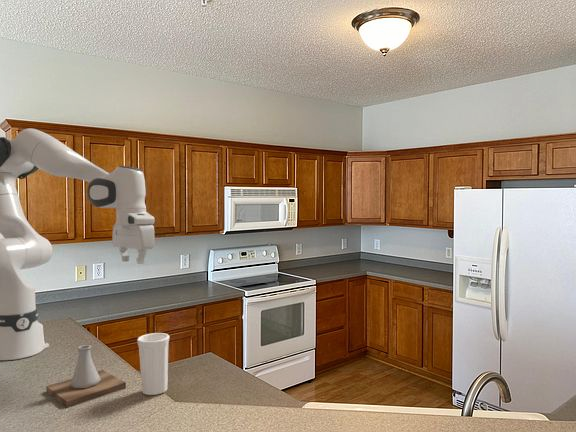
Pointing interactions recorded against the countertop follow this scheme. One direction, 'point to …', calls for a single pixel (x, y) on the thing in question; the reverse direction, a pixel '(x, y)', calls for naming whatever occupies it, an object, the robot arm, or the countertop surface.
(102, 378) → the walnut board
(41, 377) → the countertop surface
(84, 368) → the flask
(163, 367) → the cup
